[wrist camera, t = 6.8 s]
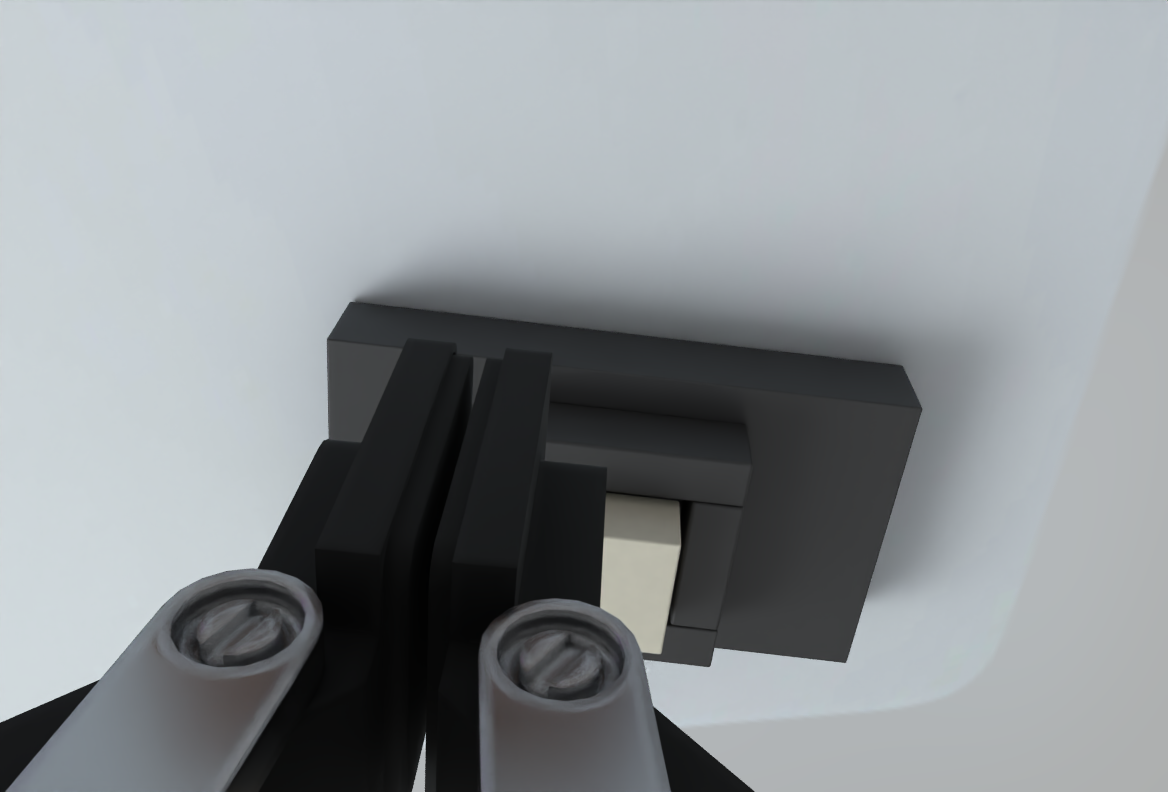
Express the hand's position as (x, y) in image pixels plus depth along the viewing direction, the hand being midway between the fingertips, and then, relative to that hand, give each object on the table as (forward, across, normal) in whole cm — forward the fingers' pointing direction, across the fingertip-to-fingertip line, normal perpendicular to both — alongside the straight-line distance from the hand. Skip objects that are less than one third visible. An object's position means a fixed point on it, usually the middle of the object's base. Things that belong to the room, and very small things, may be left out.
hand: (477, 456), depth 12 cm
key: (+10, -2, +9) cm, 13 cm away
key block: (+13, -2, +9) cm, 16 cm away
